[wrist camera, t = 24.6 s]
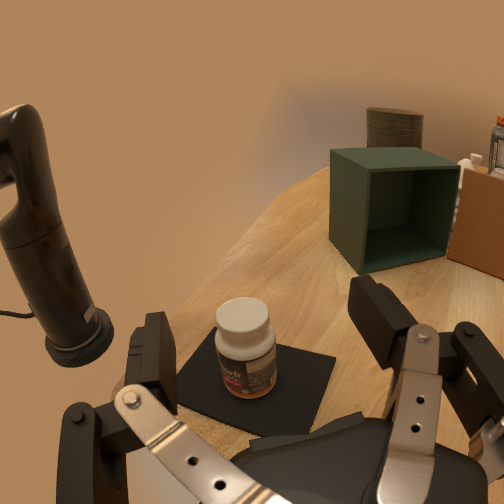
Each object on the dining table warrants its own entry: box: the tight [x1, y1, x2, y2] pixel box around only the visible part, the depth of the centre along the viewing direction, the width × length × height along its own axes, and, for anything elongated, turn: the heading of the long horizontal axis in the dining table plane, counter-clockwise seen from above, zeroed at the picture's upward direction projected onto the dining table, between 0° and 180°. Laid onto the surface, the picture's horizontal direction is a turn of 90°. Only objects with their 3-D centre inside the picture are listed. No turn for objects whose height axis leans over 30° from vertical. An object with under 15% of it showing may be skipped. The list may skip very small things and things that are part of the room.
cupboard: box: [329, 147, 461, 275], centre depth 49 cm, size 13×19×17 cm
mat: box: [176, 327, 336, 437], centre depth 32 cm, size 16×12×1 cm
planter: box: [366, 107, 424, 149], centre depth 101 cm, size 22×22×20 cm
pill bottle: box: [215, 297, 277, 399], centre depth 29 cm, size 6×6×10 cm
